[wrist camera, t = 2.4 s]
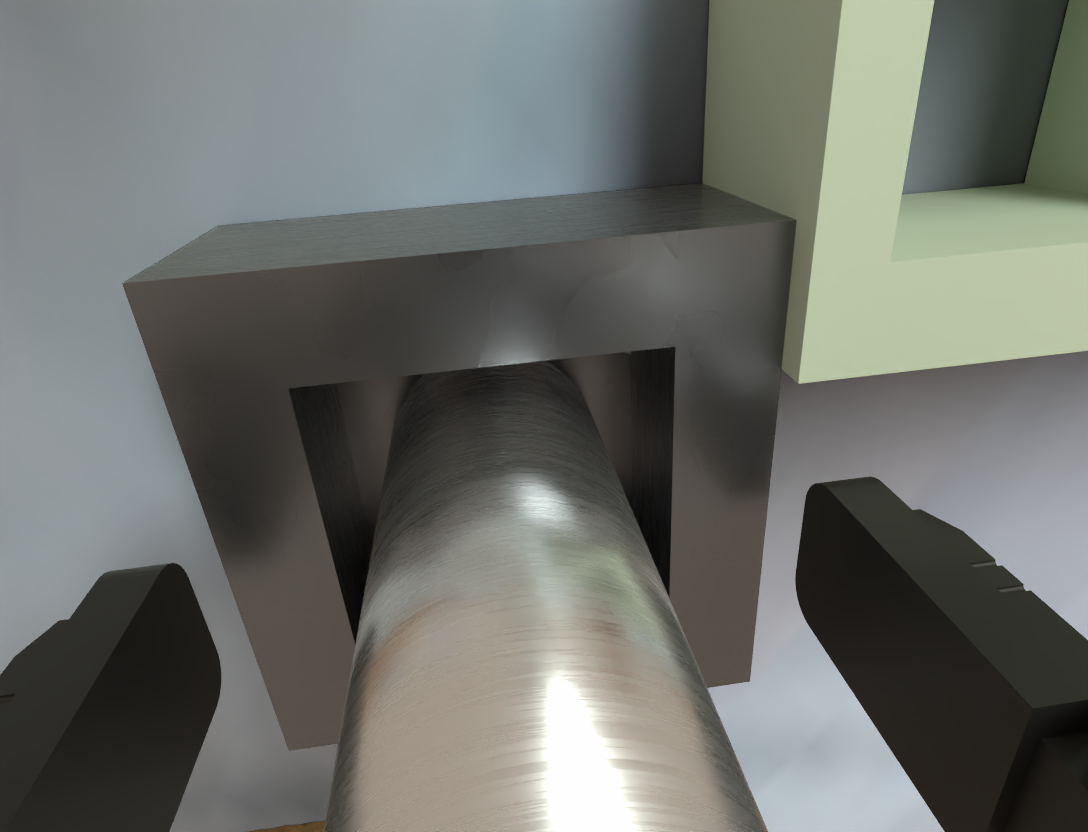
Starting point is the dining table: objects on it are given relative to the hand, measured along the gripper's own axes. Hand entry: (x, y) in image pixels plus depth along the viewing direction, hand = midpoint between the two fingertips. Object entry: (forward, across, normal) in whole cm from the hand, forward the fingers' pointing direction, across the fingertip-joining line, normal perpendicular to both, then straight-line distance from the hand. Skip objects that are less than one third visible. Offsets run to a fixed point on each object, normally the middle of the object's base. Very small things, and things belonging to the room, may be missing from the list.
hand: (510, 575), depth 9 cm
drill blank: (+4, 0, 0) cm, 4 cm away
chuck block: (+5, 0, 0) cm, 5 cm away
